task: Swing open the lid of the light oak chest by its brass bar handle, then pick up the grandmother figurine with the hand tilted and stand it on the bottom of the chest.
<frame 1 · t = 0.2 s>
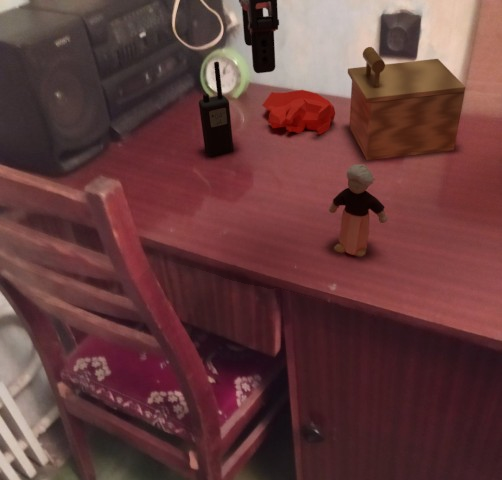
hand: (259, 57, 62), 26 cm above the table, tool pointing down, fingers open, 8 cm apart
crumpled red cloth: (291, 124, 108), on the table
chest: (399, 139, 101), on the table
walkie-talkie: (220, 153, 102), on the table
lid: (405, 66, 92), point 12 cm above the table, hinge at 0.0°
grandmother figurine: (354, 252, 79), on the table
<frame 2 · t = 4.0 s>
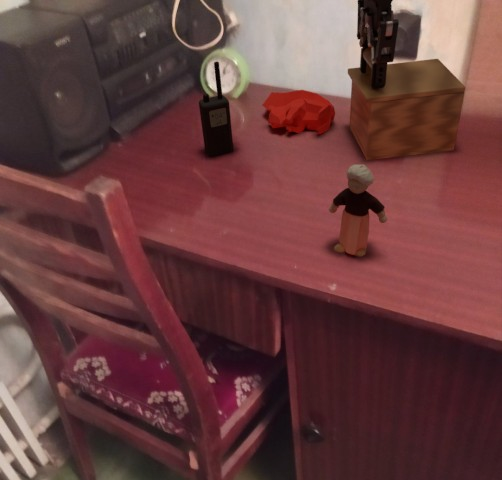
hand: (372, 79, 93), 11 cm above the table, tool pointing down, fingers closed on lid, 6 cm apart
lid: (405, 66, 92), point 12 cm above the table, hinge at 0.0°, touching gripper
everything else where it was.
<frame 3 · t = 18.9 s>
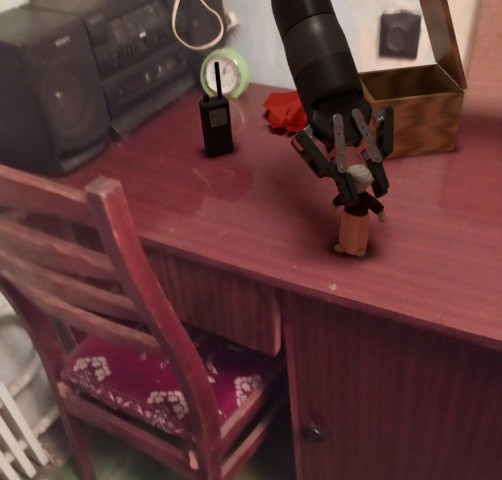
hand: (367, 199, 71), 9 cm above the table, tool tilted 45°, fingers closed on grandmother figurine, 3 cm apart
lid: (452, 21, 88), point 18 cm above the table, hinge at 67.2°
grandmother figurine: (354, 252, 79), on the table, touching gripper
everything else where it was.
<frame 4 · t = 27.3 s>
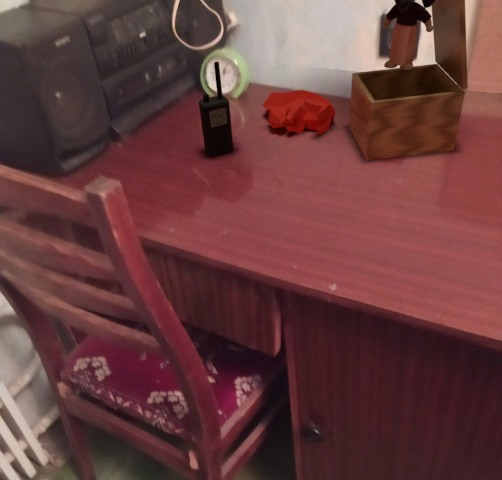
hand: (418, 6, 84), 21 cm above the table, tool tilted 45°, fingers closed on grandmother figurine, 3 cm apart
lid: (462, 20, 88), point 18 cm above the table, hinge at 77.4°
grandmother figurine: (402, 67, 92), point 12 cm above the table, touching gripper
everything else where it was.
when the fingers open (10 cm above the table, at t = 30.7 s): grandmother figurine stays where it is, resting on chest.
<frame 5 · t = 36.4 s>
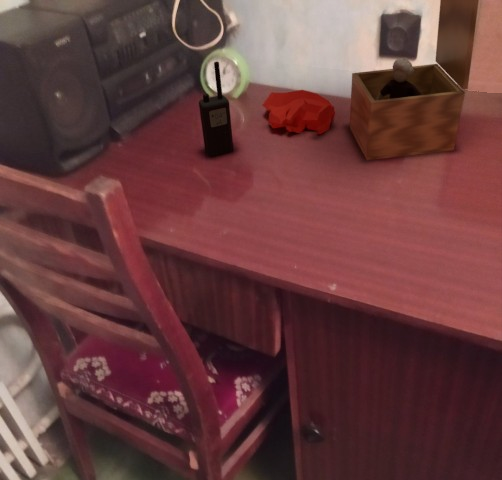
lid: (469, 20, 89), point 18 cm above the table, hinge at 86.2°
grandmother figurine: (395, 136, 101), point 1 cm above the table, touching chest
everything else where it was.
at the end: lid at +86° (first picture: +0°); grandmother figurine inside the target area in the chest (0.7 cm from its centre), point 0.6 cm above the chest's base; grandmother figurine tilted 0° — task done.
